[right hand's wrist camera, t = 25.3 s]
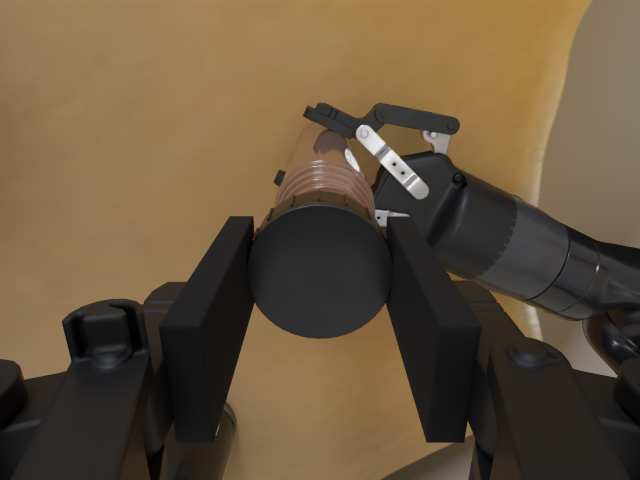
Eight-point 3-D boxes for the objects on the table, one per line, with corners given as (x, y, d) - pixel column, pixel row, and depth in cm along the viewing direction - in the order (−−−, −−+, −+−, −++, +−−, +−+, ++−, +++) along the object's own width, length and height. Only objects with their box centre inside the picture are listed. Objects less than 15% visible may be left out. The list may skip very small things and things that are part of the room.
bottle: (347, 117, 37) (390, 182, 14) (351, 170, 39) (396, 308, 15) (295, 123, 38) (247, 196, 14) (301, 174, 39) (268, 319, 15)
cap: (223, 252, 14) (212, 272, 13) (323, 158, 13) (324, 169, 12) (316, 336, 15) (316, 364, 14) (415, 257, 14) (426, 278, 13)
